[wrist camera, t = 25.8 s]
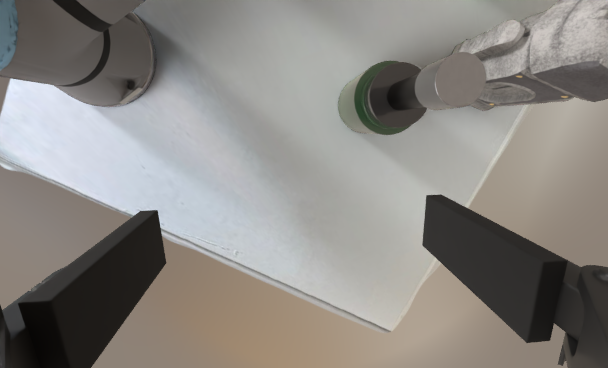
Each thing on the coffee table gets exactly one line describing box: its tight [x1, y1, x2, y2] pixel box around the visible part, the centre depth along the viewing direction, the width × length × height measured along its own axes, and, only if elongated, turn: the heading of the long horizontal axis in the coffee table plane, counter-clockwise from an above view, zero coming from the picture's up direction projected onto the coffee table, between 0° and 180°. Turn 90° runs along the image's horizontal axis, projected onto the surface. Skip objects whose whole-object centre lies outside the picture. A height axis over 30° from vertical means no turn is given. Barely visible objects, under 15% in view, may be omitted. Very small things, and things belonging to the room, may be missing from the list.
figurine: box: [452, 0, 608, 111], centre depth 35 cm, size 10×14×25 cm
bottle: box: [338, 61, 427, 135], centre depth 40 cm, size 9×9×14 cm
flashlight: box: [387, 52, 486, 111], centre depth 27 cm, size 4×4×12 cm
